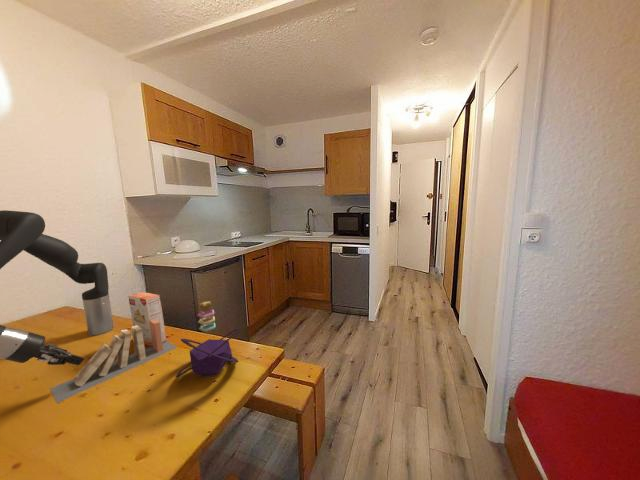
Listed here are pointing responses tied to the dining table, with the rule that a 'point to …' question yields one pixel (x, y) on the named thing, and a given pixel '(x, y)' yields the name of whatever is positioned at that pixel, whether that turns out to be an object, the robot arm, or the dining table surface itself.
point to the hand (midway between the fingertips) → (81, 361)
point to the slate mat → (72, 389)
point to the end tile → (156, 335)
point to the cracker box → (146, 314)
